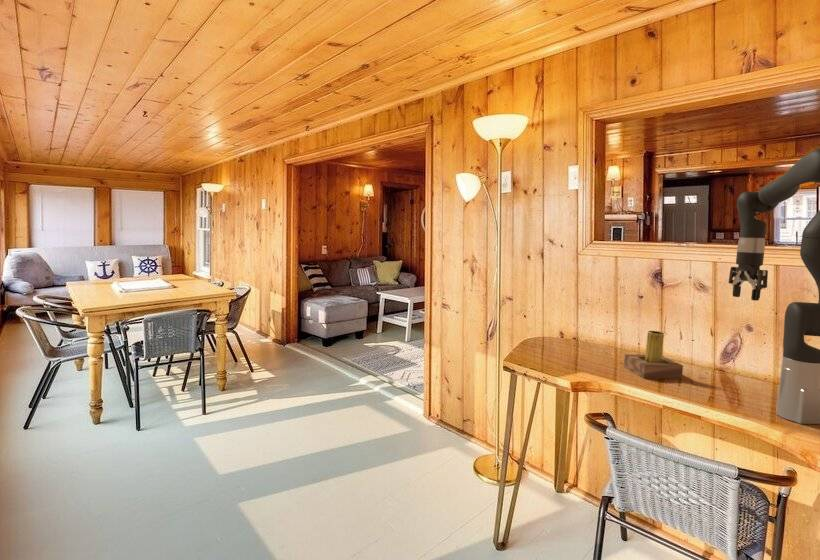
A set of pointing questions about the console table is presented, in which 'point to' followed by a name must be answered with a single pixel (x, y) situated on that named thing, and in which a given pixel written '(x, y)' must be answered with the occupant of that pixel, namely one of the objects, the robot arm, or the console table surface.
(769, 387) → the console table surface
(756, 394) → the console table surface
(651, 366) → the bore block
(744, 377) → the console table surface
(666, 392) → the console table surface
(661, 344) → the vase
